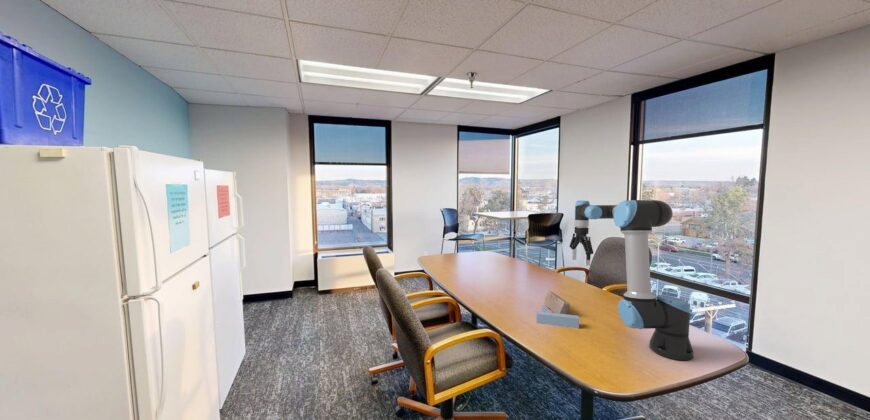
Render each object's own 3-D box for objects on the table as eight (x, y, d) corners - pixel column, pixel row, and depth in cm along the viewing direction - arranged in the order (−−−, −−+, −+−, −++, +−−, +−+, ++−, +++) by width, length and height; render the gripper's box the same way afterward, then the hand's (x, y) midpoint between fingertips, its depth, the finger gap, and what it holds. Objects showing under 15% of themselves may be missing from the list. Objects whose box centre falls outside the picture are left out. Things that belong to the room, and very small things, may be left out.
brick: (571, 304, 173) (563, 302, 172) (565, 318, 174) (558, 316, 173) (554, 292, 189) (547, 290, 188) (549, 305, 190) (542, 303, 189)
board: (578, 328, 160) (579, 318, 160) (536, 323, 167) (536, 313, 166) (576, 319, 172) (577, 310, 171) (537, 314, 178) (537, 305, 178)
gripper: (601, 229, 178) (599, 267, 180) (575, 224, 203) (574, 257, 205) (588, 230, 177) (587, 268, 179) (564, 224, 202) (563, 257, 204)
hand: (580, 262), depth 192 cm, fingers open, 13 cm apart
